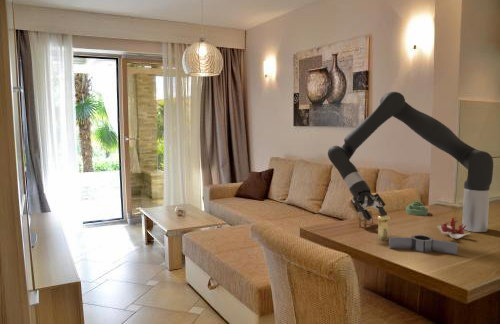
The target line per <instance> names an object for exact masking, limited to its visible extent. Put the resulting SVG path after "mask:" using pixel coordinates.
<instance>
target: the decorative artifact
mask: <svg viewBox="0 0 500 324" xmlns="http://www.w3.org/2000/svg"><path fill="white" fill-rule="evenodd" d="M405 213H406V214H408V215H412V216H419V217H421V216H423V217H424V216H428V215H429V209H428V207H426V206H425V205H424V204H423V202H421V201H420V200H418V199H417V198H416V200H414V201H413V202H412V203H410V204H407V206H406V207H405Z"/></svg>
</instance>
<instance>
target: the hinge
mask: <svg viewBox="0 0 500 324" xmlns="http://www.w3.org/2000/svg"><path fill="white" fill-rule="evenodd" d="M458 244H459V243H458V242H455V241H449V240H448V241H447V240H440V239H436V238H435V239H434V237H431V236H429V235H424V234H412V235H411V236H410V237H407V236H402V237H401V236H388V248H389V249H391V250H392V249H398V250H399V249H400V250H404V249H405V250H406V249H407V250H413V251H415V252H421V253H431V252H437V253H443V254H448V255H456V256H457V255H458V247H459V245H458Z"/></svg>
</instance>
